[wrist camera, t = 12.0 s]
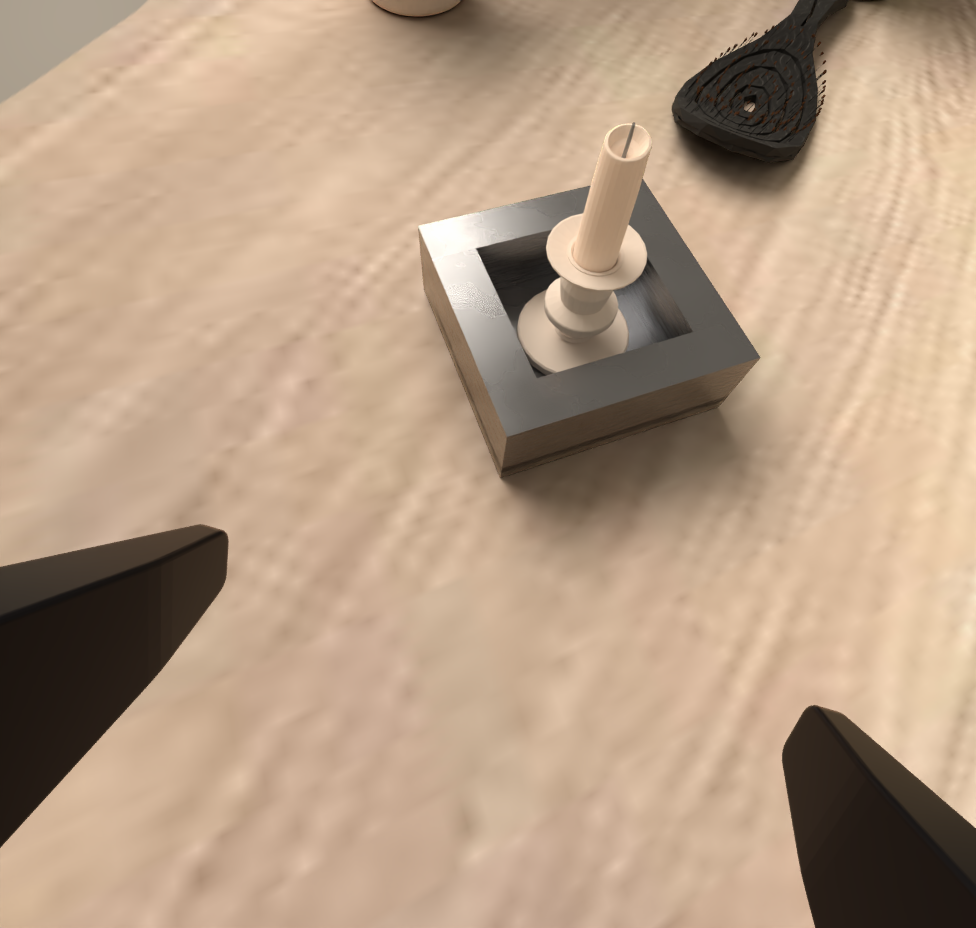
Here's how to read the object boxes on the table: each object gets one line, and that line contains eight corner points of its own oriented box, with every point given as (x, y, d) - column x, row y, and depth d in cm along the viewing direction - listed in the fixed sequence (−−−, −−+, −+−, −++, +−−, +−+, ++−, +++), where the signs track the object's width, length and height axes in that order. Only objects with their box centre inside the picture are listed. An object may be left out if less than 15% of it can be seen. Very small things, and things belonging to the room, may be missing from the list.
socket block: (718, 406, 26) (760, 357, 22) (500, 478, 24) (506, 436, 20) (617, 239, 30) (639, 174, 26) (423, 288, 28) (418, 225, 24)
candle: (593, 403, 25) (676, 211, 15) (495, 348, 26) (514, 135, 16) (645, 324, 26) (747, 110, 17) (551, 276, 27) (598, 47, 18)
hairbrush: (912, -38, 38) (804, 144, 28) (875, 24, 42) (766, 206, 32) (799, -76, 40) (658, 84, 30) (772, -14, 43) (637, 149, 33)
